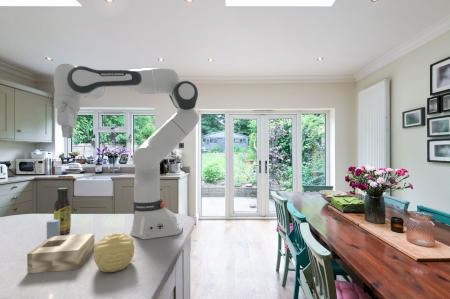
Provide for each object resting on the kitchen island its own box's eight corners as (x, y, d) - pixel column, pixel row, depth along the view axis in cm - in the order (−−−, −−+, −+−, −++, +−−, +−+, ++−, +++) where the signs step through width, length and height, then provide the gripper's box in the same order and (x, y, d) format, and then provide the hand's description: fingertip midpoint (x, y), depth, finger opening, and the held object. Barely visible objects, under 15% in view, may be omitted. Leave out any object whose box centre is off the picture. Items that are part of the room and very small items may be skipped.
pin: (61, 244, 91) (61, 219, 91) (56, 249, 87) (56, 222, 87) (50, 245, 90) (50, 219, 90) (44, 250, 86) (44, 223, 86)
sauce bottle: (61, 236, 99) (61, 190, 99) (49, 235, 101) (49, 189, 100) (74, 230, 106) (74, 187, 106) (63, 229, 107) (62, 186, 107)
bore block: (94, 249, 87) (94, 233, 86) (78, 268, 73) (78, 249, 73) (52, 252, 84) (52, 236, 84) (27, 273, 70) (27, 253, 70)
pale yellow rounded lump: (92, 281, 66) (91, 243, 66) (96, 262, 77) (96, 229, 77) (135, 272, 71) (134, 237, 71) (133, 255, 82) (133, 225, 82)
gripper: (72, 100, 88) (72, 137, 88) (79, 108, 107) (79, 138, 107) (51, 99, 85) (52, 136, 86) (63, 107, 104) (63, 138, 104)
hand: (67, 137), depth 96 cm, fingers open, 8 cm apart
